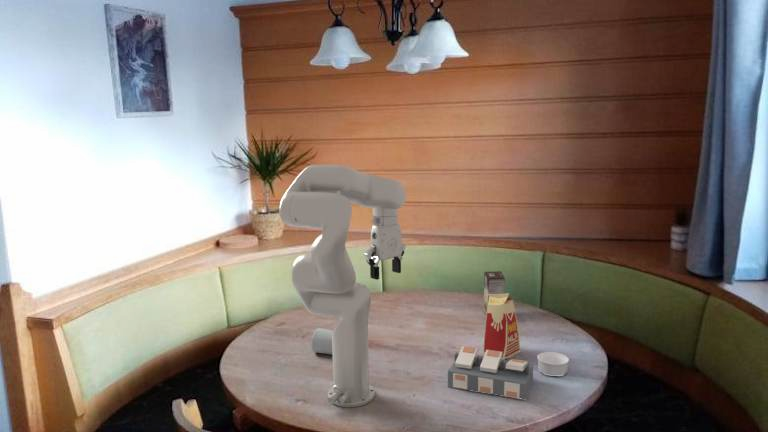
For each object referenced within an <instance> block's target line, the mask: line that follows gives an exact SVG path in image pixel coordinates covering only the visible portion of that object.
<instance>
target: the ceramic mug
mask: <svg viewBox="0 0 768 432" xmlns="http://www.w3.org/2000/svg"><path fill="white" fill-rule="evenodd" d="M332 333H333V330H331V329H326V328H322V327H321V328H320V327H318V328H316V329H315V330H314V332H313V334H312V337H311V349H312V351H313V352H314V353H318V354H325V355H326V354H327V355H331V356H332Z"/></svg>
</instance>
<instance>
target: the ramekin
mask: <svg viewBox="0 0 768 432" xmlns="http://www.w3.org/2000/svg"><path fill="white" fill-rule="evenodd" d="M536 357H537V364H538V365H537V366H538V368H537V369H538V371H539V372H540V371H541V372H542V373H545V374H549V375H562V374H565V373H566V372H567V373H568V368H569V367H568V366H569V363H570V358H569V357H568V356H567V355H565V354H563V353H560V352H555V351H545V352H540V353H539V354H537V356H536ZM542 373H541V374H542ZM567 373H566V374H567Z"/></svg>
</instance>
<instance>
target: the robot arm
mask: <svg viewBox="0 0 768 432" xmlns="http://www.w3.org/2000/svg"><path fill="white" fill-rule="evenodd" d="M406 196H407V192H406V189H405V186H404V184H402V183H401V182H400V181H397V180H395V179H393V178H388V177H382V176H377V175H373V174H370V173H365V172H364V173H363V172H361V171H359V170H358V169H354V168H352V167H351V166H350V167H349V166H347V165H341V164H310V165H308V166H307V167H304V169H303V170H302V171H301V172H300V173H299V174H298V175H297V176H296V177H295V179H294V180H293V181H292V183H291V184H290V185H289V187H288V189H286V191H285V192H284V194H283V196H282V198H281V199H280V203H279V208H278V209H279V210H278V211H279V212H278V213H279V217H280V219H281V221H282V222H283V223H284V224H285V225H287V226H289V227H291V228H304V229H305V228H306V229H320V230H322V231H321V234H319V235H318V236H317V237H316V238H315V240H314V241H313V242H312V244H311V246H310V249H309V253H304V254H300V255H299V256H297V258H296V259H295V260H294V262H293V264H292V268H291V281H292V284H293V287H294V289H295V291H296V294H297V295H298V297H299V299H300V301H301V302H302V304H303V305H304V307H305V309H306V310H307V312H309V313H310V314H312V315H314V316H323V317H330V318H338V319H339V320H340V321H339V322H338V324H337V325H336V326H335V328H334V329H333V330H332V331H333V333H332V355H331V356H332V380H333V381H332V382H333V383H332V384H333V386H331V388H330V389H328V391H327V399H326V400H327V403H328V404H329V405H331V406H332V405H336V406H339V407H343V408H357V407H361V406H365V405H367V404H369V403H371V402H372V401H373V400H374V398H375V396H376V391H375V388H374V387H373V386H372V385H370V377H369V375H370V372H369V371H370V369H369V368H370V367H369V366H370V365H369V364H370V363H369V317H370V316H369V315H370V308H371V303H372V294H371V291H370V289H369V288H368V286H366V285H365V284H363V283H361V282H357V279H356V278H357V277H356V272H355V269H354V266H353V265H354V264H353V263H352V261H351V258H350V256H349V254H348V251H347V249H346V244H347V243H346V242H347V238H348V235H349V229H350V226H351V219H352V213H353V212H352V205H359V206H361V207H363V208H367V209H372V220H371V223H372V226H371V233H370V241H369V242H370V243H369V245H370V246H369V248H368V249H367V250H366V251H365V252H364V254H363V256H364V259H365V261H366V262H367V265H368V266H369V270H370V271H369V273H370V274H369V276H370V279H373V280H377V281H378V280H379V279H380V266H379V263H380V262H381V260H382V261H386V260H389V259H391V271H392V272H393V273H396V274H401V273H402V260H403V256H404V255H405V250H406V246H407V245H406V244H405V243H403V237H402V232H401V231H402V230H401V226H400V223H399V221H398V220H399V217H398V216H399V215H398V213H399V212H398V211H399V209H400V208H402V207H403V206H404V204H405V202H406V198H407V197H406Z"/></svg>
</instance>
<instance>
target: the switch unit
mask: <svg viewBox="0 0 768 432" xmlns="http://www.w3.org/2000/svg"><path fill="white" fill-rule="evenodd" d="M458 355H459V352H455V354H454V362H453V363H452V365H451V366H450V368H449V369H448V370H447V387H448V388H451V387H452V388H451V389H456V388H457V389H458V390H462V389H464V390H463V391H467V390H473V391H479V392H485V393H490V394H497V395H503V396H507V397H514V398H522V399H525V398H526V399H527V397H528V394H529V392H528V390H529V391H530V389H529V388H531V386H532V383H533V381H532V379H533V380H534V363H527V365H526V368H525V369H524V370H523V371H519V370H513V369H506V363H508V362H509V361H510V360H511V359H506V360H503V359H501V361H500V364H499V367H498V370H497V373H492V372H486V371H480V365H481V363H482V360H483V357H484V355H478V354H477V355H476V357H475V360H474V363H473V365H472V368H471V369H467V368H461V367H455V362H456V360H457V357H458ZM531 382H532V383H531ZM530 385H531V386H530ZM473 391H472V392H473ZM479 392H478V393H479ZM527 393H528V394H527ZM490 394H489V395H490ZM526 396H527V397H526ZM507 397H506V398H507Z"/></svg>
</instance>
